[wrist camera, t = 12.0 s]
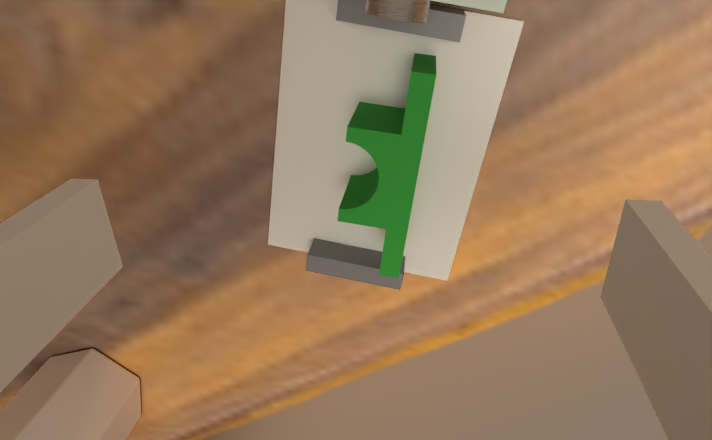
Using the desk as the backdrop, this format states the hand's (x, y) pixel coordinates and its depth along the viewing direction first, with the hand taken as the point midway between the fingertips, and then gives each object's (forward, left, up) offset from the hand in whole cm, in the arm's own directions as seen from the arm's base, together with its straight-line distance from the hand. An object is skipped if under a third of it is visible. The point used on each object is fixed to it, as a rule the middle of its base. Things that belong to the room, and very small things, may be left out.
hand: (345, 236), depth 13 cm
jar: (-20, -30, -17) cm, 40 cm away
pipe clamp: (0, -4, -17) cm, 17 cm away
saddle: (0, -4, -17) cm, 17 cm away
